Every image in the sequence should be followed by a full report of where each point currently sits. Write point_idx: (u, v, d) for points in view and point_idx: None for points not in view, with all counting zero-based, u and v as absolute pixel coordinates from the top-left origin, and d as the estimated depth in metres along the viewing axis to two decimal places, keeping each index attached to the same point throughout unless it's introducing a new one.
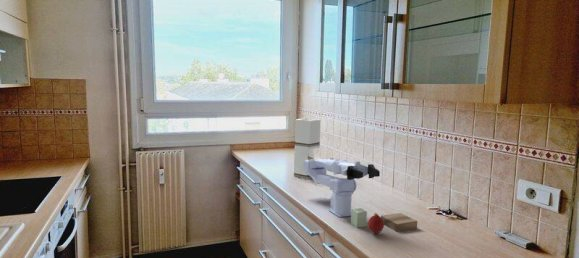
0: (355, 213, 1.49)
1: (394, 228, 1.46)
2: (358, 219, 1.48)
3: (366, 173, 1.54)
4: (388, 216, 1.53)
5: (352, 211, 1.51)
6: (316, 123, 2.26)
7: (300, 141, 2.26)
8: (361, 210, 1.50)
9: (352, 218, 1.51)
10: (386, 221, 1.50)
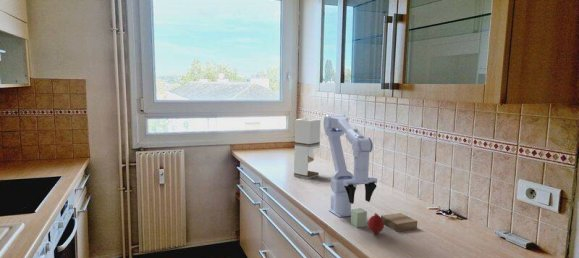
0: (355, 213, 1.49)
1: (394, 228, 1.46)
2: (358, 219, 1.48)
3: None
4: (388, 216, 1.53)
5: (352, 211, 1.51)
6: (316, 123, 2.26)
7: (300, 141, 2.26)
8: (361, 210, 1.50)
9: (352, 218, 1.51)
10: (386, 221, 1.50)
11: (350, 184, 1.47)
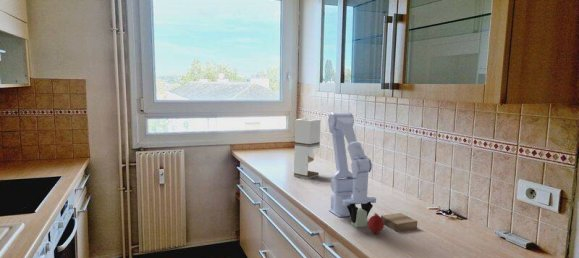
0: None
1: (394, 228, 1.46)
2: (358, 219, 1.48)
3: None
4: (388, 216, 1.53)
5: None
6: (316, 123, 2.26)
7: (300, 141, 2.26)
8: (361, 210, 1.50)
9: None
10: (386, 221, 1.50)
11: (349, 204, 1.48)
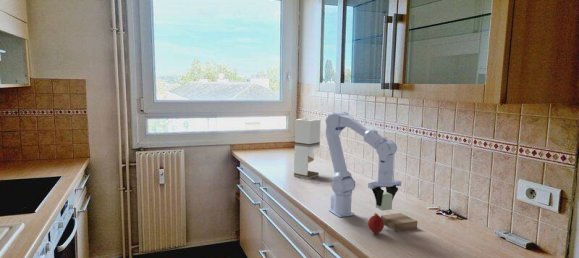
0: None
1: (394, 228, 1.46)
2: (384, 202, 1.47)
3: None
4: (388, 216, 1.53)
5: None
6: (316, 123, 2.26)
7: (300, 141, 2.26)
8: (386, 193, 1.50)
9: None
10: (386, 221, 1.50)
11: (375, 187, 1.47)
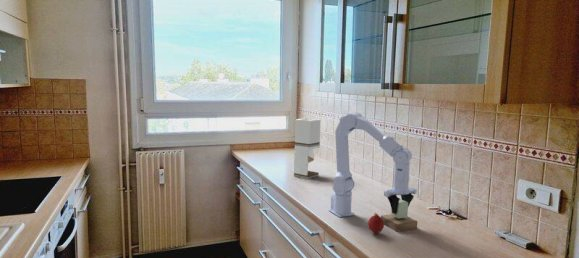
0: None
1: (394, 228, 1.46)
2: (400, 210, 1.48)
3: None
4: (388, 216, 1.53)
5: None
6: (316, 123, 2.26)
7: (300, 141, 2.26)
8: (402, 201, 1.50)
9: None
10: (386, 221, 1.50)
11: (391, 195, 1.47)
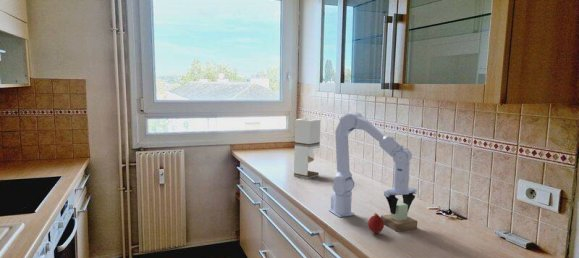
0: (396, 206, 1.49)
1: (394, 228, 1.46)
2: (399, 212, 1.48)
3: None
4: (388, 216, 1.53)
5: None
6: (316, 123, 2.26)
7: (300, 141, 2.26)
8: (402, 203, 1.50)
9: None
10: (386, 221, 1.50)
11: (391, 195, 1.47)
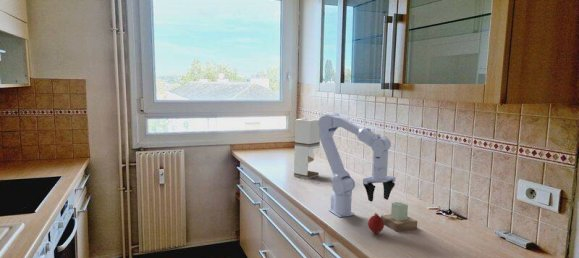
0: (396, 206, 1.49)
1: (394, 228, 1.46)
2: (399, 212, 1.48)
3: None
4: (388, 216, 1.53)
5: (393, 204, 1.51)
6: (316, 123, 2.26)
7: (300, 141, 2.26)
8: (402, 203, 1.50)
9: (393, 211, 1.51)
10: (386, 221, 1.50)
11: (369, 182, 1.50)
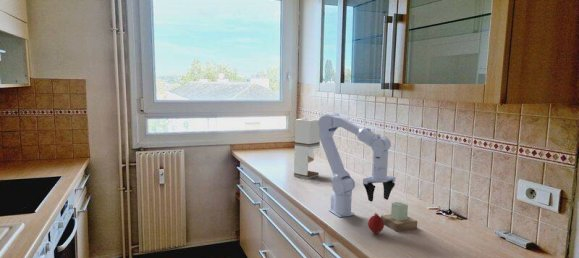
0: (396, 206, 1.49)
1: (394, 228, 1.46)
2: (399, 212, 1.48)
3: None
4: (388, 216, 1.53)
5: (393, 204, 1.51)
6: (316, 123, 2.26)
7: (300, 141, 2.26)
8: (402, 203, 1.50)
9: (393, 211, 1.51)
10: (386, 221, 1.50)
11: (369, 182, 1.50)
